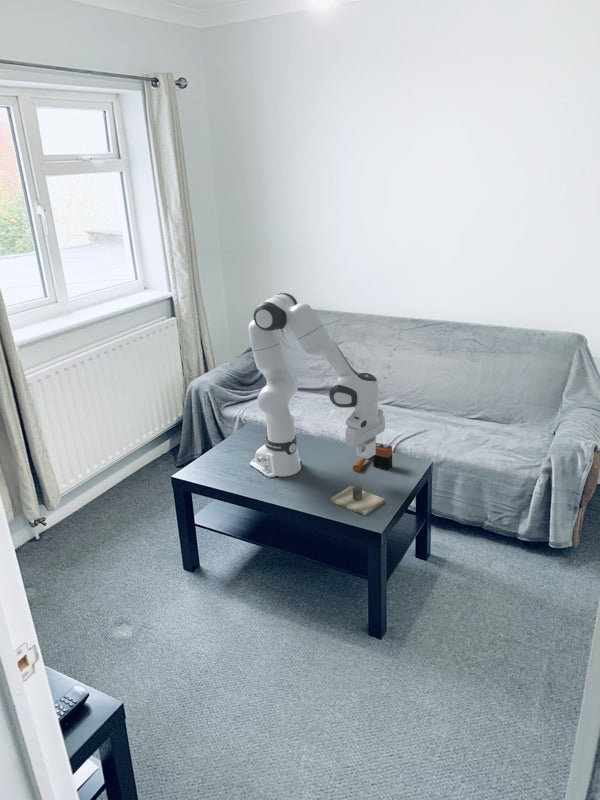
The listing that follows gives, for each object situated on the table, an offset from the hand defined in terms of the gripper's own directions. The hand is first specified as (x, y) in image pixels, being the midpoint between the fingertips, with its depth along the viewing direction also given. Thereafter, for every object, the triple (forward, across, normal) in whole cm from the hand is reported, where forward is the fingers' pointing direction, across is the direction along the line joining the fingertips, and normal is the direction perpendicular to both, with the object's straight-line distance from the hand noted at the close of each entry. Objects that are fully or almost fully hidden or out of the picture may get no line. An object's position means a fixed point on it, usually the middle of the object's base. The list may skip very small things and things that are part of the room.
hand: (365, 449), depth 234 cm
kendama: (+15, -14, -10) cm, 23 cm away
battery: (+14, -14, -2) cm, 20 cm away
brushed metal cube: (+2, 0, 0) cm, 2 cm away
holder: (+14, +14, +7) cm, 21 cm away
